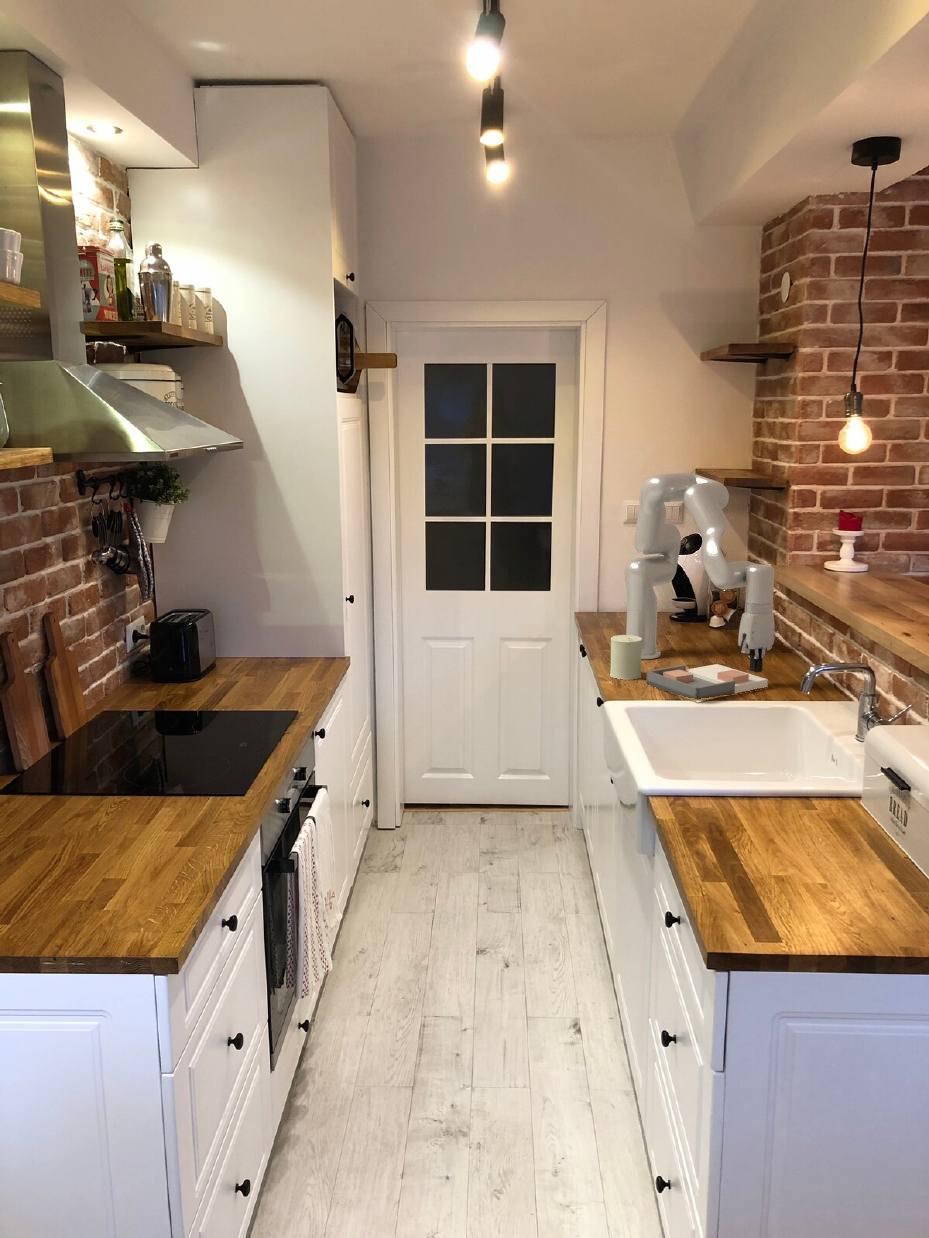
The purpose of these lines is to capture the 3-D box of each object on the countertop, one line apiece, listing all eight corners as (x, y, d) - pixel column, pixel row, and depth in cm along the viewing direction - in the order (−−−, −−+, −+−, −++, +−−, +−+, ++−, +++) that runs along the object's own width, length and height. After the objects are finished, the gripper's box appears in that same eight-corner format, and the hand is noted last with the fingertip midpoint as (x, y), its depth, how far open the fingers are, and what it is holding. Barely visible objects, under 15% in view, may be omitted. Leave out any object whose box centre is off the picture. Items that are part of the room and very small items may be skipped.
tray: (646, 684, 280) (646, 671, 279) (683, 677, 286) (683, 664, 286) (696, 702, 262) (697, 688, 261) (734, 695, 269) (735, 681, 268)
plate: (684, 678, 286) (684, 669, 286) (716, 672, 293) (717, 664, 292) (733, 694, 269) (734, 686, 269) (767, 687, 276) (767, 679, 275)
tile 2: (717, 679, 276) (717, 672, 275) (732, 676, 278) (733, 669, 278) (732, 684, 270) (733, 677, 270) (748, 681, 273) (748, 674, 273)
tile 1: (662, 678, 280) (663, 672, 280) (679, 676, 283) (679, 669, 283) (676, 683, 275) (676, 676, 275) (693, 681, 278) (693, 674, 277)
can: (617, 681, 284) (618, 641, 281) (604, 673, 292) (605, 634, 290) (646, 678, 286) (647, 639, 284) (633, 670, 295) (634, 632, 292)
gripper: (767, 603, 281) (764, 665, 285) (729, 609, 274) (727, 672, 278) (787, 607, 275) (784, 670, 278) (749, 613, 268) (746, 677, 271)
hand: (755, 671), depth 278 cm, fingers closed
